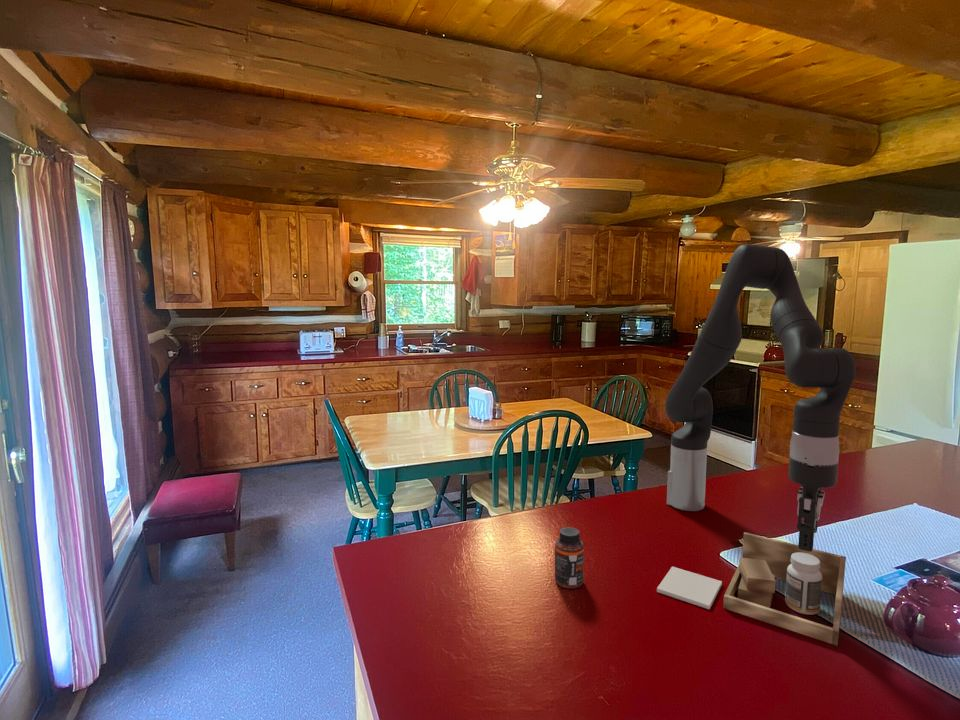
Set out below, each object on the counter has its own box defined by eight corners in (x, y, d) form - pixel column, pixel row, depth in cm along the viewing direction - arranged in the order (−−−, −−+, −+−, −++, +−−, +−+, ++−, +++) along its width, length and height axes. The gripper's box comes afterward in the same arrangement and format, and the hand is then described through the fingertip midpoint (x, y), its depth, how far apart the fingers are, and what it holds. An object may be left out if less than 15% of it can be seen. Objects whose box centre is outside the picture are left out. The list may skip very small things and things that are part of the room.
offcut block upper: (747, 589, 101) (747, 577, 100) (738, 568, 108) (739, 557, 107) (774, 593, 99) (775, 580, 99) (764, 571, 107) (765, 560, 106)
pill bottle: (815, 601, 101) (818, 553, 99) (823, 618, 95) (827, 568, 94) (781, 595, 103) (785, 548, 101) (788, 613, 97) (792, 563, 96)
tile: (656, 591, 105) (656, 588, 105) (672, 569, 113) (672, 566, 112) (709, 609, 99) (709, 605, 99) (721, 585, 107) (722, 581, 106)
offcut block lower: (737, 602, 101) (738, 588, 101) (744, 580, 109) (744, 567, 108) (769, 611, 98) (770, 597, 98) (774, 588, 106) (775, 575, 105)
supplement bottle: (581, 592, 105) (581, 540, 103) (552, 587, 107) (552, 535, 105) (585, 577, 110) (586, 527, 109) (558, 572, 113) (558, 523, 111)
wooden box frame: (723, 608, 99) (725, 569, 98) (742, 566, 113) (744, 532, 112) (837, 645, 88) (841, 602, 87) (842, 594, 103) (846, 556, 101)
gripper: (794, 443, 103) (789, 521, 105) (784, 463, 91) (779, 550, 94) (840, 450, 98) (834, 531, 100) (836, 472, 87) (829, 562, 89)
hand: (807, 540), depth 97 cm, fingers open, 8 cm apart
